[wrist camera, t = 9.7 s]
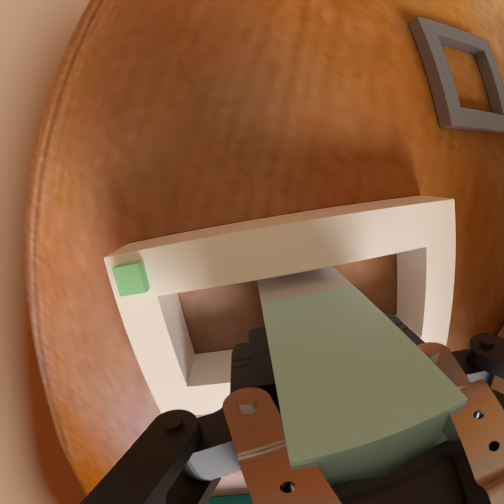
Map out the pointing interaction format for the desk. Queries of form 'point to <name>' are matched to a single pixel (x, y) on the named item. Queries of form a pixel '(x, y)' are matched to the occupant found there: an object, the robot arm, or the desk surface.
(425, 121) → the desk surface
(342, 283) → the plug
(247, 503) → the digital multimeter
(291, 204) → the desk surface
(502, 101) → the grey square ring
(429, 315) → the port panel
